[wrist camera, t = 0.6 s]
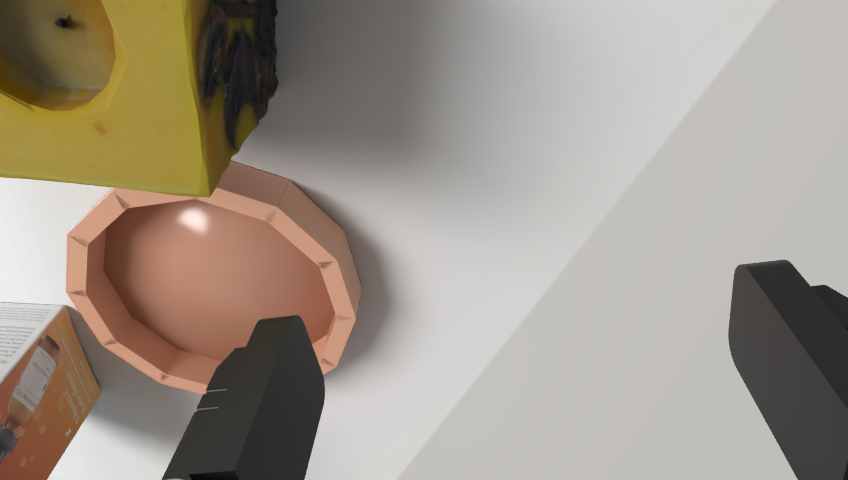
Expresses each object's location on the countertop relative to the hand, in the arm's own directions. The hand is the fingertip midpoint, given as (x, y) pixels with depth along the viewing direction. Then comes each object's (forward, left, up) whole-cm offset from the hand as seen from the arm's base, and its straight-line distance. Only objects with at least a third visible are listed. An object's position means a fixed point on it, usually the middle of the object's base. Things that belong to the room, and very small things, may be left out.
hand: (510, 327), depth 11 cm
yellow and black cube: (-5, -13, -18) cm, 23 cm away
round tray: (+11, -16, -18) cm, 26 cm away
